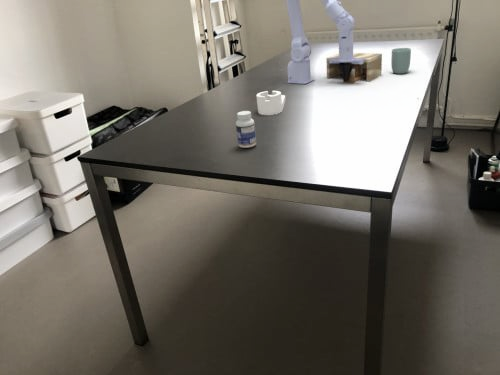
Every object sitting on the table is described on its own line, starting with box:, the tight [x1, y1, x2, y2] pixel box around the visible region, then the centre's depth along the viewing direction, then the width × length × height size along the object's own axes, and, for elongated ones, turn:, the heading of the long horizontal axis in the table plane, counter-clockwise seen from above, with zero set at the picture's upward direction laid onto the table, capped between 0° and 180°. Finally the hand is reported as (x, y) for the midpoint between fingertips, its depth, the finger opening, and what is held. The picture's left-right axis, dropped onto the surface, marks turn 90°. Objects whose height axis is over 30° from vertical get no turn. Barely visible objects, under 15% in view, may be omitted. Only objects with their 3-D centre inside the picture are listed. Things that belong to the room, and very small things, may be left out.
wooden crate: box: [325, 52, 383, 83], centre depth 192 cm, size 20×12×9 cm, turn 51°
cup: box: [390, 47, 412, 75], centre depth 190 cm, size 8×8×10 cm
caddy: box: [343, 65, 367, 84], centre depth 189 cm, size 5×12×6 cm, turn 140°
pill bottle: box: [235, 110, 257, 148], centre depth 128 cm, size 5×5×10 cm
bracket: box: [256, 90, 286, 116], centre depth 163 cm, size 20×9×7 cm, turn 170°
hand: (346, 81), depth 185 cm, fingers closed, pressing on caddy
